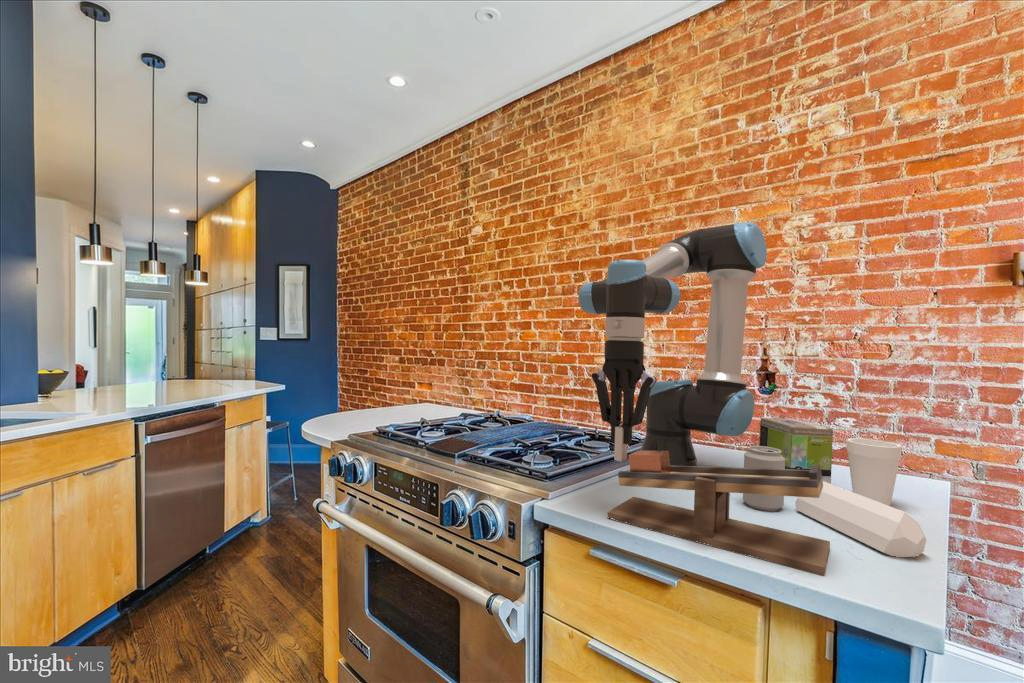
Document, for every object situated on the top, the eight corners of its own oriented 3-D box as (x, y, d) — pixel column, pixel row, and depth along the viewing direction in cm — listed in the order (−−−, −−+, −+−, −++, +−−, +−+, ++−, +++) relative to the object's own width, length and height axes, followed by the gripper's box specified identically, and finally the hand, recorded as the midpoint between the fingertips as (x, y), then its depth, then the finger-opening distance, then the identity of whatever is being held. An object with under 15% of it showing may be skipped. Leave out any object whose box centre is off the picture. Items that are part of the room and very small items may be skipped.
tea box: (832, 492, 112) (834, 428, 112) (788, 490, 112) (791, 426, 112) (795, 474, 127) (797, 417, 127) (756, 472, 127) (758, 416, 127)
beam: (619, 485, 91) (617, 466, 91) (635, 476, 97) (634, 459, 98) (819, 498, 72) (815, 474, 72) (823, 485, 79) (820, 464, 79)
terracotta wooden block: (630, 476, 91) (628, 454, 92) (640, 470, 95) (638, 450, 96) (662, 477, 88) (659, 455, 88) (671, 472, 92) (668, 450, 92)
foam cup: (850, 493, 111) (852, 436, 111) (902, 503, 104) (904, 443, 104) (841, 502, 104) (842, 441, 104) (895, 514, 97) (897, 449, 97)
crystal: (780, 490, 99) (885, 538, 75) (808, 472, 100) (921, 514, 76) (795, 521, 99) (905, 578, 76) (823, 503, 100) (941, 554, 76)
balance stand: (607, 518, 90) (609, 462, 90) (632, 502, 100) (634, 451, 100) (824, 575, 70) (826, 503, 70) (829, 548, 80) (831, 484, 79)
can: (789, 514, 96) (791, 453, 96) (748, 510, 97) (750, 450, 97) (776, 502, 103) (778, 445, 103) (738, 498, 104) (740, 443, 104)
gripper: (585, 338, 96) (582, 457, 96) (649, 340, 88) (645, 469, 88) (602, 339, 102) (599, 451, 102) (663, 340, 94) (659, 461, 94)
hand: (620, 459), depth 95 cm, fingers closed
